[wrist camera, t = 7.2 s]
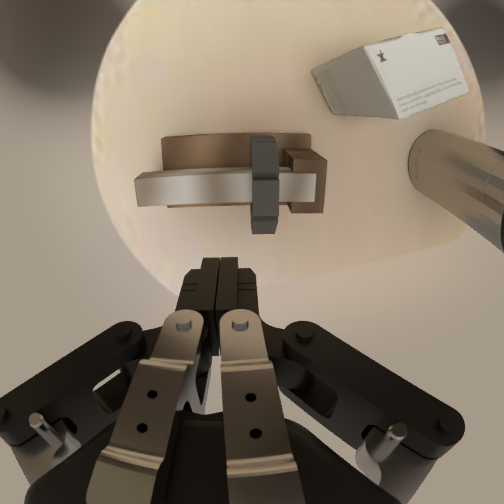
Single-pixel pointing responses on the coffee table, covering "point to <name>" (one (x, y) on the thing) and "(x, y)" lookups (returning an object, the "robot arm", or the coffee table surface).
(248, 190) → the pipe stand
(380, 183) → the coffee table surface
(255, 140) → the o ring
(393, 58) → the skincare box
